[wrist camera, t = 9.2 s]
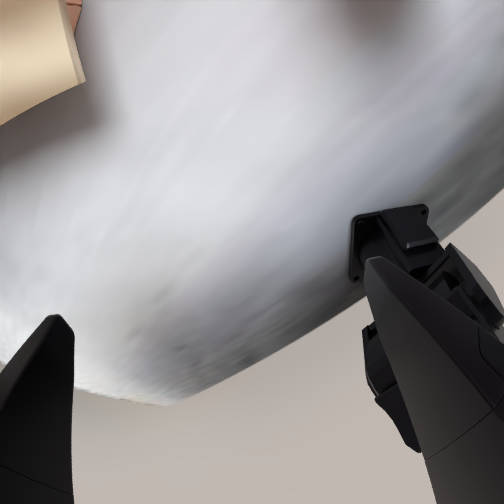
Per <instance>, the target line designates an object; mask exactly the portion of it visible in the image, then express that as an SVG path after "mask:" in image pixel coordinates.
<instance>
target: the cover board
mask: <svg viewBox="0 0 504 504" xmlns="http://www.w3.org/2000/svg"><path fill="white" fill-rule="evenodd" d="M83 82H86V80H85V77H84V73H83V70H82V66H81V62H80V59H79V55H78V51H77V47H76V43H75V39H74V35H73V31H72V27H71V22H70V18H69V13H68V9H67V4H66V0H0V125H2V124H4V123H5V122H7V121H9V120H10V119H12V118H14V117H15V116H17V115H19V114H21V113H22V112H24V111H26V110H28V109H30V108H31V107H33V106H35V105H37V104H39V103H41V102H43V101H45V100H47V99H49V98H51V97H53V96H55V95H57V94H59V93H61V92H63V91H65V90H68V89H70V88H72V87H74V86H76V85H79V84H81V83H83Z"/></svg>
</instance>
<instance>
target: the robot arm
mask: <svg viewBox="0 0 504 504" xmlns="http://www.w3.org/2000/svg"><path fill="white" fill-rule="evenodd" d="M422 210H423V211H422ZM428 213H429V209H428V207H427V206H426V205H425V204H419V205H413V206H405V207H399V208H393V209H388V210H383V211H378V212H373V213H367V214H361V215H357V216H356V217H354V219H353V221H352V242H351V259H350V274H349V277H350V280H351V282H353V283H357V282H361V281H364V288H365V292H366V295H367V298H368V301H369V304H370V308H371V311H372V314H373V318H374V322H373V323H371V324H370V325H368V326H366V327H365V328H364V329H363V330H362V337H363V347H364V358H365V372H366V379H367V383H368V385H369V387H370V388H371V390H372V392H373V393H374V395H375V396H376V398H375V402H376V403H377V404H378V405H379V406H380V407H381V408H382V409H383V410H385V411H386V413H387V414H388V415H389V416H390V418H391V419H392V420H393V422H394V424H395V425H396V427H397V429H398V430H399V432H400V434H401V436H402V438H403V440H404V442H405V444H406V445H407V446H408V447H410V448H411V449H413V450H414V451H416V452H417V453H421V452H422V454H423V457H424V460H425V464H426V467H427V471H428V474H429V477H430V481H431V484H432V488H433V491H434V495H435V499H436V503H437V504H504V327H503V324H504V308H503V306H502V304H501V302H500V300H499V298H498V296H497V294H496V292H495V291H494V289H493V287H492V285H491V284H490V283H489V282H488V280H487V279H486V278H485V276H484V275H483V274H482V273H481V271H480V270H479V269H478V268H477V267H476V265H474V264H473V263H472V262H471V261H470V260H469V259H468V258H467V257H466V256H465V255H464V254H463V253H462V252H460V251H459V250H458V249H457V248H456V247H455V246H454V245H452V244H451V243H449V244H448V246H447V247H446V248H445V250H444V249H443V248H442V246H441V245H440V244H439V243H438V240H439V239H438V237H437V236H436V235H435V233H434V232H433V231H432V230H431V229H430V227H429V226H428V225H427V218H428ZM359 221H362V222H361V223H359V224H358V222H359ZM74 343H75V336H74V332H73V330H72V329H71V327H70V326H69V325H68V324H67V322H66V321H65V320H64V319H63V317H62V316H61V315H59V314H54V315H49V316H47V317H46V318H45V319H44V321H43V322H42V323H41V324H40V325H39V326H38V327H37V329H36V330H35V331H34V332H33V333H32V334H31V336H30V337H29V338H28V339H27V340H26V342H25V343H24V344H23V345H22V346H21V348H20V349H19V350H18V351H17V353H16V354H15V355H14V356H13V357H12V359H11V360H10V361H9V362H8V364H7V365H6V366H5V368H4V369H3V370H2V372H1V373H0V504H74V495H73V484H72V458H71V457H72V456H71V431H72V430H71V429H72V404H73V388H74Z"/></svg>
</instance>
